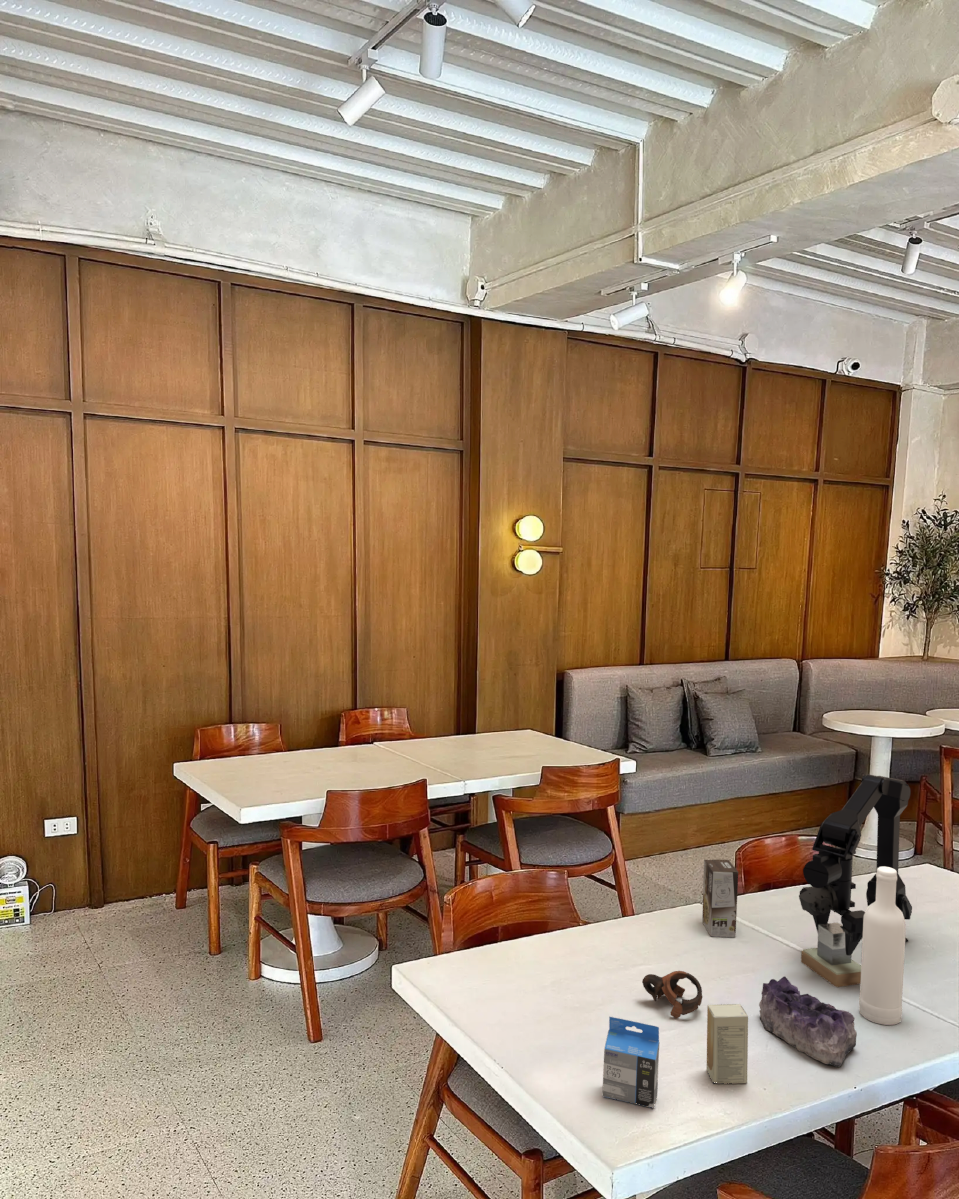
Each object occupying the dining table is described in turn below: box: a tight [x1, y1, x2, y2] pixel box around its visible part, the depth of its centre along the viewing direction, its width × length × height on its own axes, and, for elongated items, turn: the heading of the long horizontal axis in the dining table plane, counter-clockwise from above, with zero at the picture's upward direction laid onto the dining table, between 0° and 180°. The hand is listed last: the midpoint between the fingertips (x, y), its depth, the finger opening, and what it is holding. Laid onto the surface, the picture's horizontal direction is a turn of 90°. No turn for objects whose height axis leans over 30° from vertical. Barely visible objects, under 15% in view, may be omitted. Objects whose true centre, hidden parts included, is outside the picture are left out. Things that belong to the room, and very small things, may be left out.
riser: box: [800, 947, 861, 988], centre depth 196 cm, size 8×12×3 cm, turn 16°
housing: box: [816, 922, 852, 965], centre depth 196 cm, size 5×5×7 cm
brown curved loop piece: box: [641, 970, 704, 1019], centre depth 179 cm, size 12×10×8 cm
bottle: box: [858, 866, 907, 1026], centre depth 177 cm, size 8×8×30 cm
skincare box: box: [706, 1003, 749, 1085], centre depth 155 cm, size 6×4×12 cm
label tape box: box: [602, 1016, 660, 1109], centre depth 149 cm, size 9×4×12 cm, turn 69°
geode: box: [758, 975, 858, 1068], centre depth 169 cm, size 20×12×10 cm, turn 34°
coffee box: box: [702, 859, 739, 938], centre depth 217 cm, size 9×6×16 cm
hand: (834, 945), depth 196 cm, fingers open, 9 cm apart
